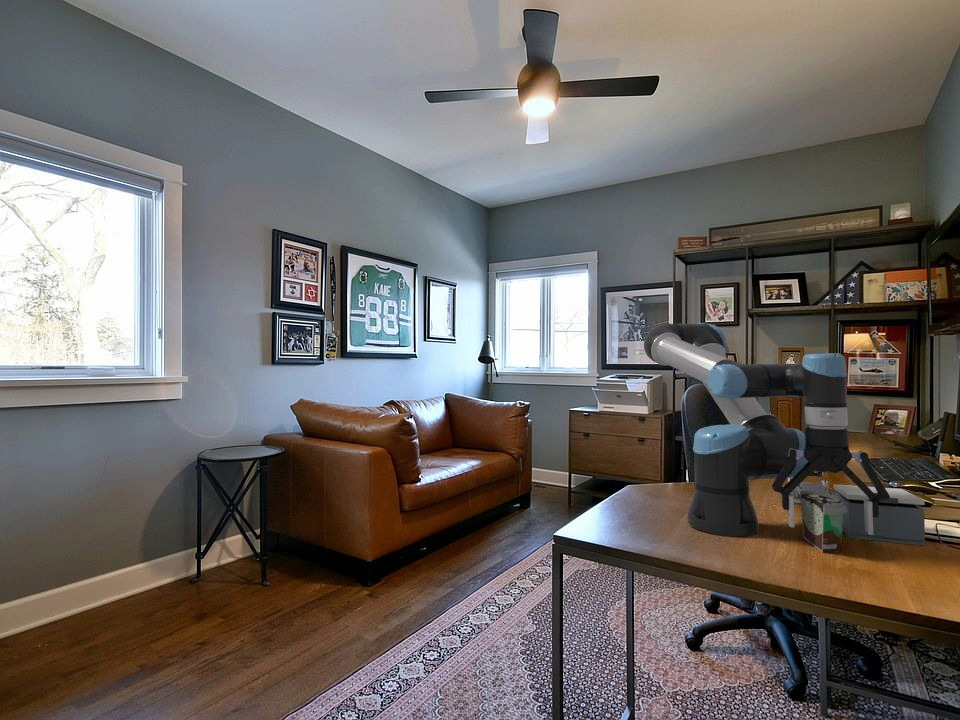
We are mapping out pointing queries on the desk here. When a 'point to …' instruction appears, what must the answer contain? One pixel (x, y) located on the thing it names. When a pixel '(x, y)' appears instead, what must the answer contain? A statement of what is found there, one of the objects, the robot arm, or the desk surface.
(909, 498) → the box lid
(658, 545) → the desk surface
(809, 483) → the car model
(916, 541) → the storage box
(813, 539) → the food container
